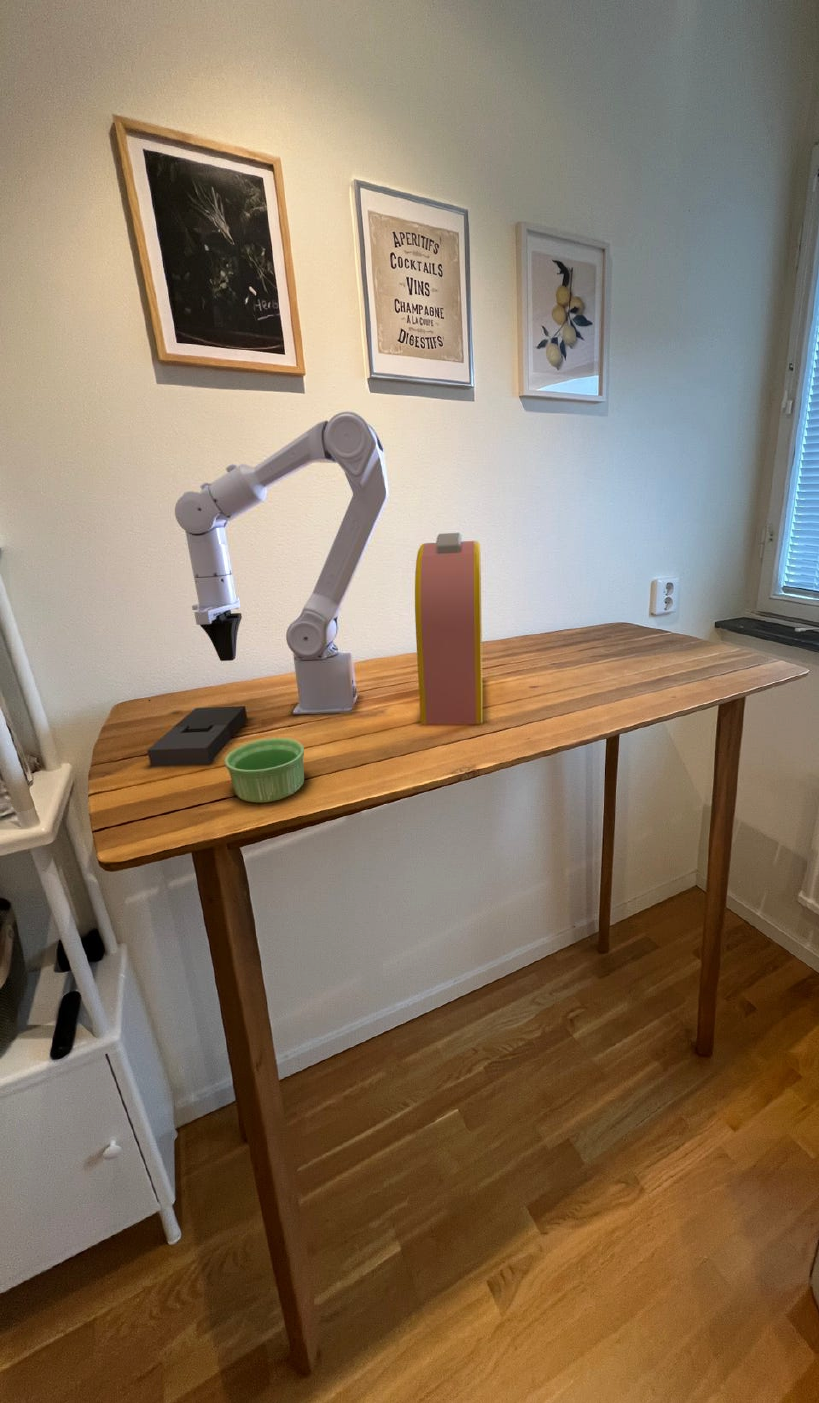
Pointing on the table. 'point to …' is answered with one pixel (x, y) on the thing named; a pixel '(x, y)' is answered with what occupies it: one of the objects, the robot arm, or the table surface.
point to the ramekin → (266, 769)
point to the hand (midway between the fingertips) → (228, 659)
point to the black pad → (214, 719)
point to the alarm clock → (449, 630)
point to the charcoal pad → (188, 746)
